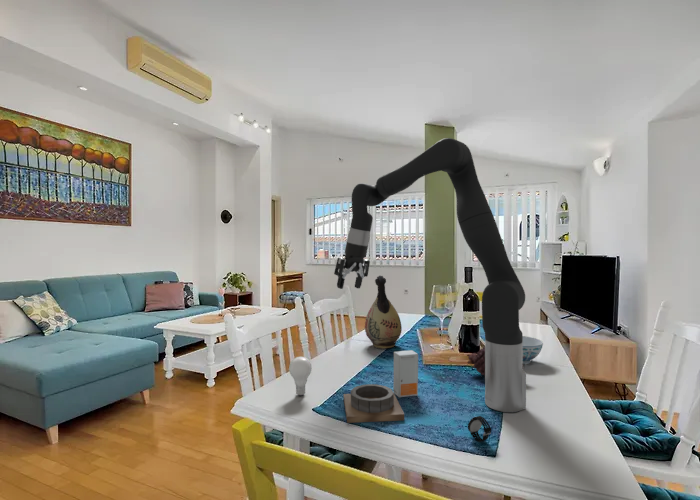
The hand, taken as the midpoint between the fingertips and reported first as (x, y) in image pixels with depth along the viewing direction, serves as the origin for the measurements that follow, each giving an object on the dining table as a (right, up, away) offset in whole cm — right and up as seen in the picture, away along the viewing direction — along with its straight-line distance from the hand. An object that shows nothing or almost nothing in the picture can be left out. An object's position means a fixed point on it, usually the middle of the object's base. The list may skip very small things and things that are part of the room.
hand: (348, 288), depth 134 cm
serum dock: (+6, -28, -34) cm, 44 cm away
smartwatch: (+29, -29, -50) cm, 64 cm away
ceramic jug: (+14, -27, +27) cm, 41 cm away
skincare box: (+16, -28, -24) cm, 40 cm away
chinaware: (+62, -27, +6) cm, 68 cm away
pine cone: (+46, -28, -10) cm, 55 cm away
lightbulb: (-14, -28, -24) cm, 40 cm away
